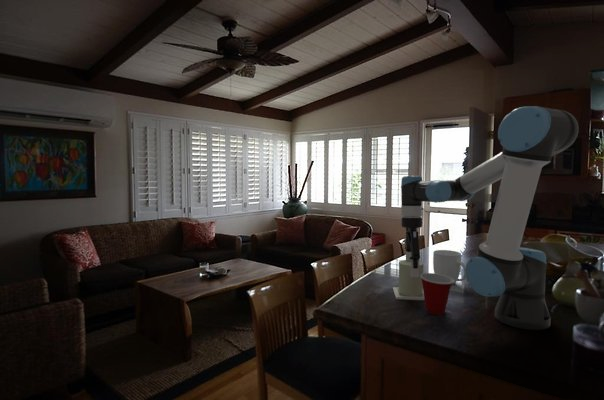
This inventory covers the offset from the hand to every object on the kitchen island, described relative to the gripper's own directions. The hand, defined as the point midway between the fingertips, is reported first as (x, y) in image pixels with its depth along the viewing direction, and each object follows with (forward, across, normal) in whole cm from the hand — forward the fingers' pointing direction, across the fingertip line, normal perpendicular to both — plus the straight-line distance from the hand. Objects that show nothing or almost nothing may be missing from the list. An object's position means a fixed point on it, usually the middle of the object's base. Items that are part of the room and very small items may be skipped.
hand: (412, 272), depth 140 cm
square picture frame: (+9, +1, +1) cm, 9 cm away
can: (+8, +1, 0) cm, 8 cm away
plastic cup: (+9, -16, -5) cm, 20 cm away
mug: (+9, +18, -17) cm, 26 cm away
